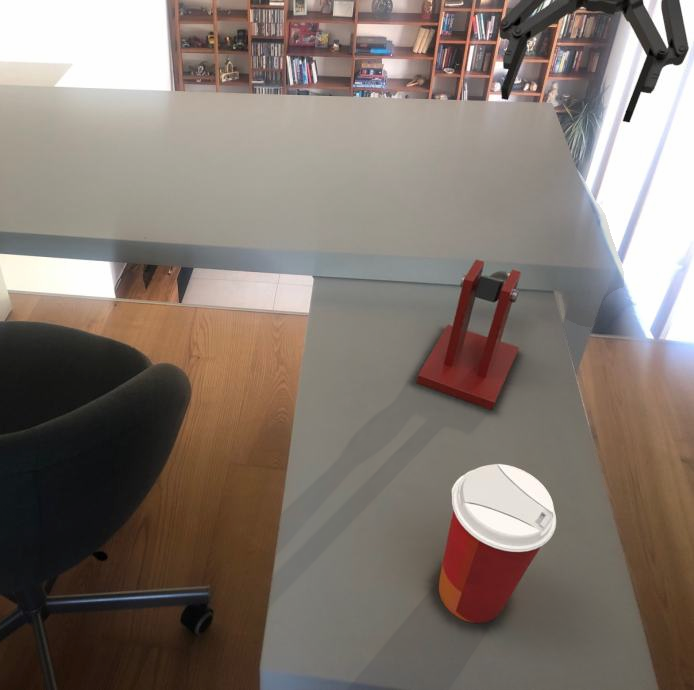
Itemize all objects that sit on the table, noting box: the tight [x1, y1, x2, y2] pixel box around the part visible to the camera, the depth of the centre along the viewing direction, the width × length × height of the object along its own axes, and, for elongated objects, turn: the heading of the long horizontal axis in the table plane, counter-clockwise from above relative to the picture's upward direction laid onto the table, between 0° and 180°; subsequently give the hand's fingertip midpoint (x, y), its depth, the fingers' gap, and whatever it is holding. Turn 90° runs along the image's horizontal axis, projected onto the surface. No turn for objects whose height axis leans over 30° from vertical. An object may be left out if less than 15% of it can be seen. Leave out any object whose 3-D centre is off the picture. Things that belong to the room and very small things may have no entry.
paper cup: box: [438, 463, 557, 624], centre depth 57 cm, size 8×8×14 cm
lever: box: [474, 270, 510, 303], centre depth 81 cm, size 14×4×4 cm, turn 149°
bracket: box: [416, 259, 522, 411], centre depth 80 cm, size 11×9×14 cm
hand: (563, 105), depth 80 cm, fingers open, 13 cm apart
